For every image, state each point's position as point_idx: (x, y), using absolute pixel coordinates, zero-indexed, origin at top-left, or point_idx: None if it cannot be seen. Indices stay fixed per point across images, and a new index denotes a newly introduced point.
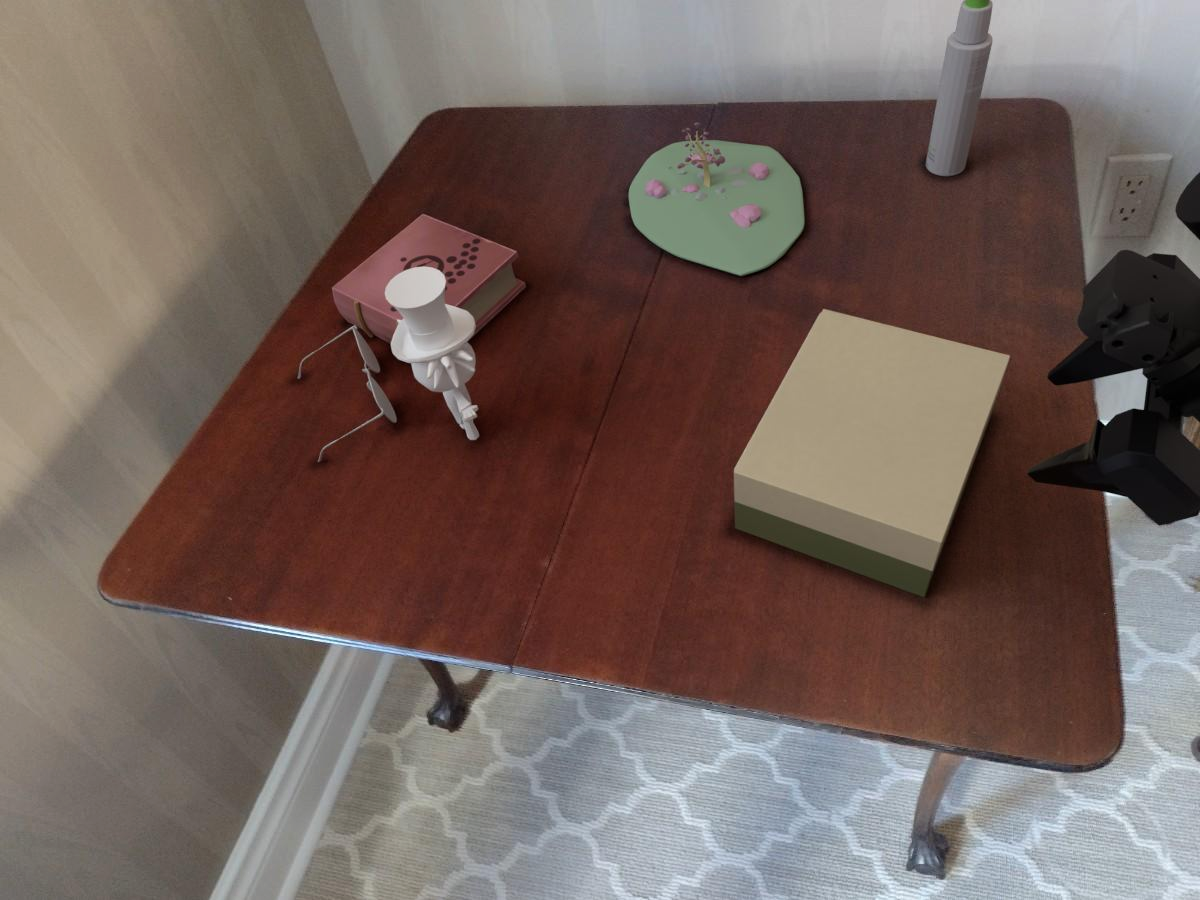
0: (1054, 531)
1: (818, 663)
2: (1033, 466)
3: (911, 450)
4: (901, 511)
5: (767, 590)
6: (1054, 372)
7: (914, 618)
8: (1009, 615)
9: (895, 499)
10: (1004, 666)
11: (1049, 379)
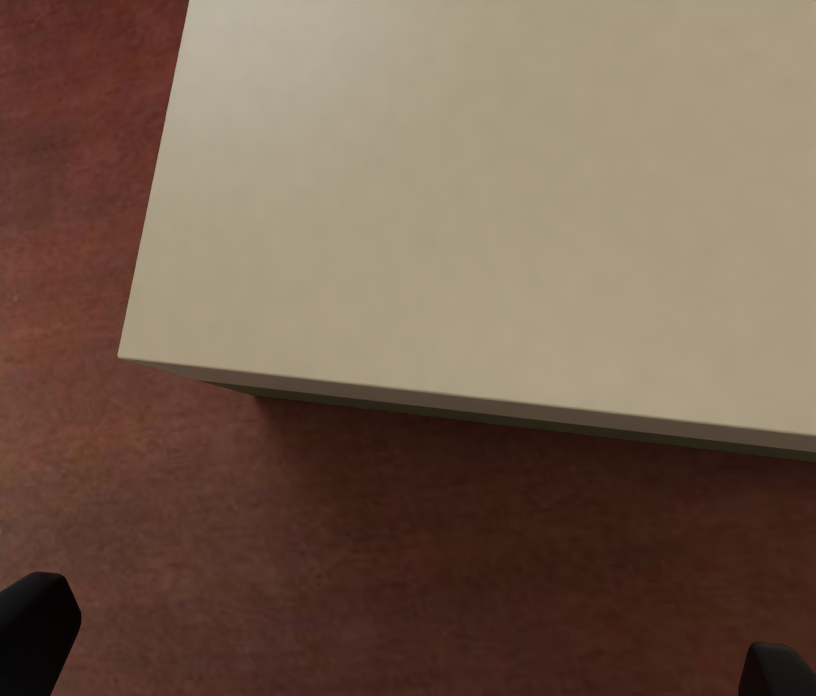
0: (516, 670)
1: (72, 235)
2: (22, 597)
3: (434, 204)
4: (195, 230)
5: None
6: (770, 691)
7: (201, 384)
8: (254, 576)
9: (232, 204)
10: (137, 576)
11: (749, 656)
